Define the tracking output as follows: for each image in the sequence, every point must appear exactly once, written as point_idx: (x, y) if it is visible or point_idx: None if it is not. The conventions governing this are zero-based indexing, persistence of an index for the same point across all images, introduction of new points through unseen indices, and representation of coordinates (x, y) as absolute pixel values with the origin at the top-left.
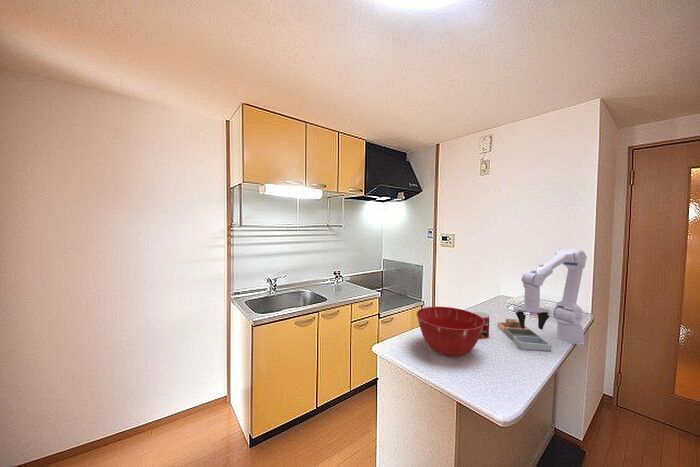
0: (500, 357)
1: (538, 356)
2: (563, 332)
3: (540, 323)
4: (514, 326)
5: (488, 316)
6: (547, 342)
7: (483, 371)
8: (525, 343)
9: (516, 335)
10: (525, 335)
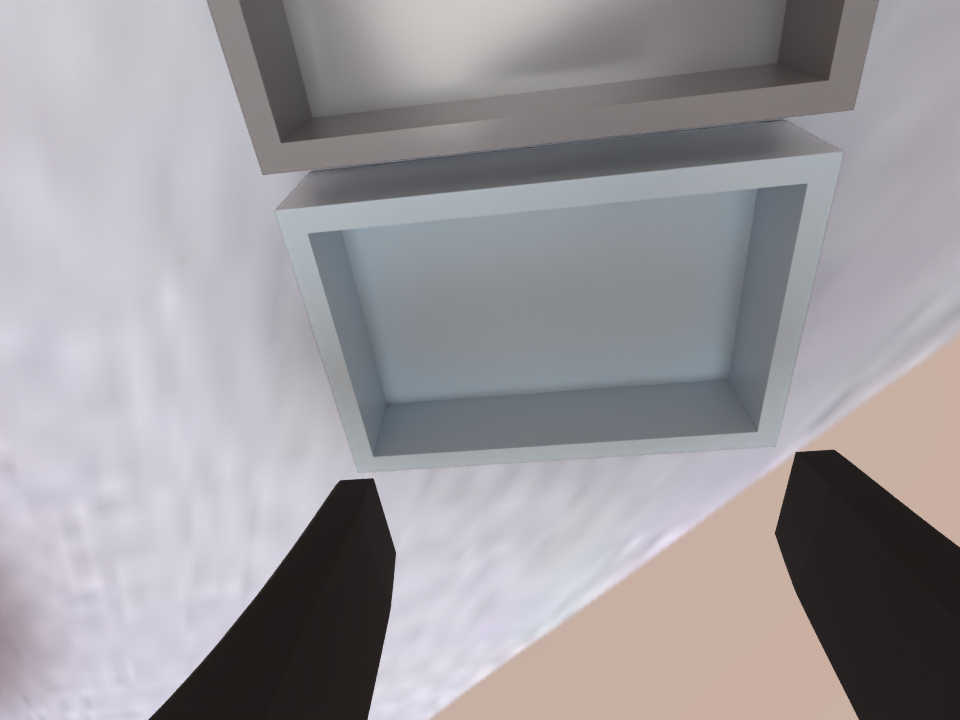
0: (157, 577)
1: (515, 508)
2: None
3: (870, 642)
4: None
5: None
6: (783, 380)
7: (71, 717)
8: (417, 466)
9: (354, 164)
10: (543, 135)
